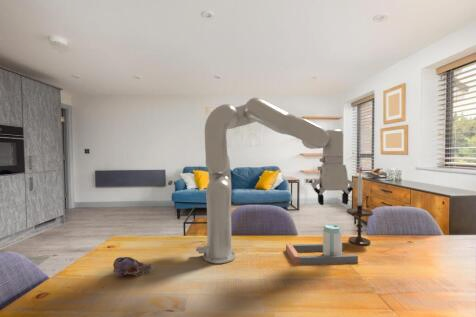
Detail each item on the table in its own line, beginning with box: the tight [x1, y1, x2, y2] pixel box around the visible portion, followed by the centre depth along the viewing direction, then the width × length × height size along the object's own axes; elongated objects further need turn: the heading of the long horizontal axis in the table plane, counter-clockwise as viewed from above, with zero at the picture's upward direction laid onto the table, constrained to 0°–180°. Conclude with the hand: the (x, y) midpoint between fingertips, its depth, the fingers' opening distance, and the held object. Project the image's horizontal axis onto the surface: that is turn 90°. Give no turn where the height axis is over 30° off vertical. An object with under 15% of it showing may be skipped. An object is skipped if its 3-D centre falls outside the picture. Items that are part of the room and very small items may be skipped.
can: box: [322, 224, 343, 255], centre depth 99 cm, size 7×7×12 cm
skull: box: [112, 256, 152, 277], centre depth 85 cm, size 12×8×6 cm, turn 94°
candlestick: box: [346, 166, 374, 247], centre depth 114 cm, size 11×11×35 cm
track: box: [285, 243, 359, 266], centre depth 99 cm, size 24×13×3 cm, turn 93°
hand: (333, 204), depth 99 cm, fingers open, 9 cm apart
